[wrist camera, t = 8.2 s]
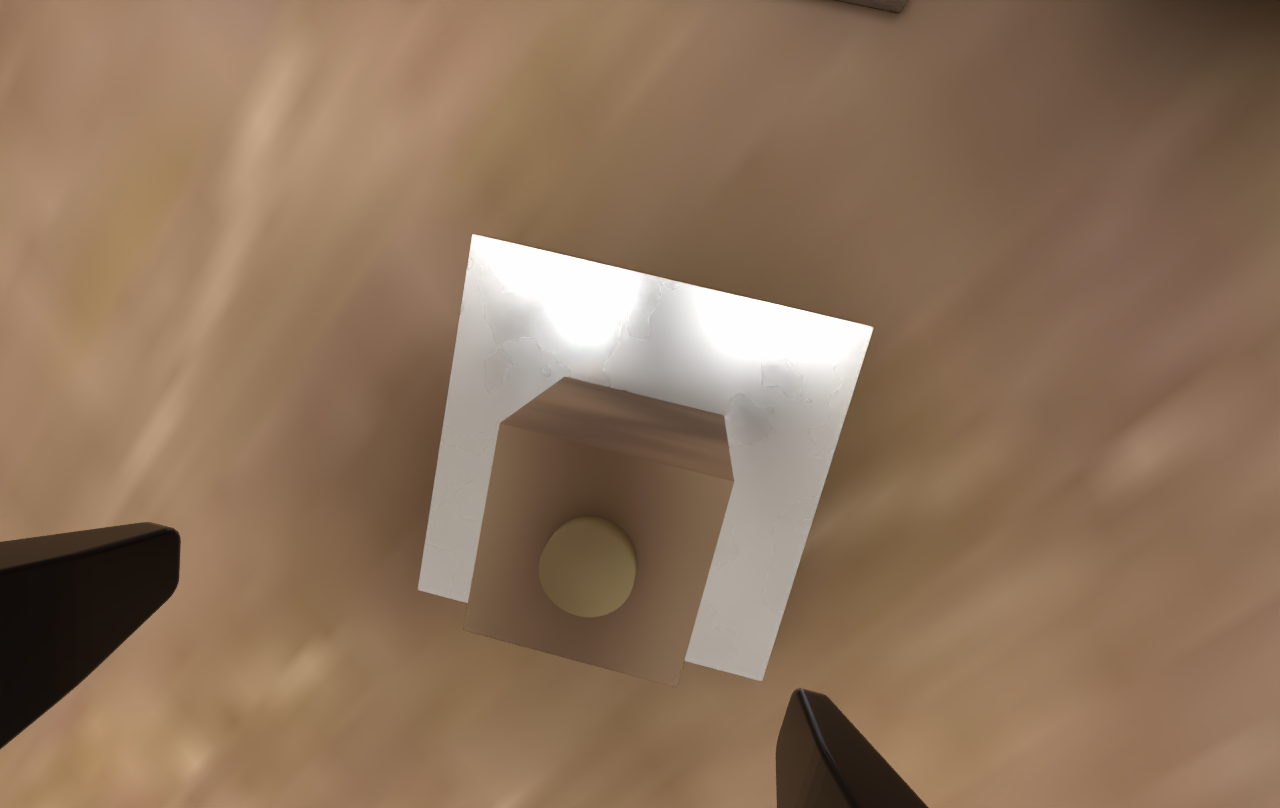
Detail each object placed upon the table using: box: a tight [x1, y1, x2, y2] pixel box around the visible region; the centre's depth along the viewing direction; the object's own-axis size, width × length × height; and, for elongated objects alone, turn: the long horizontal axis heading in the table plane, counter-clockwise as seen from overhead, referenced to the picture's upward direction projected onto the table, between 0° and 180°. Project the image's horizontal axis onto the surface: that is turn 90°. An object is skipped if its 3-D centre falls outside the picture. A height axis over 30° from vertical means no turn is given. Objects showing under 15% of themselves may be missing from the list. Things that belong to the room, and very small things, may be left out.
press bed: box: [418, 234, 874, 681], centre depth 19 cm, size 12×12×2 cm
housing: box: [463, 376, 734, 688], centre depth 15 cm, size 5×5×7 cm
